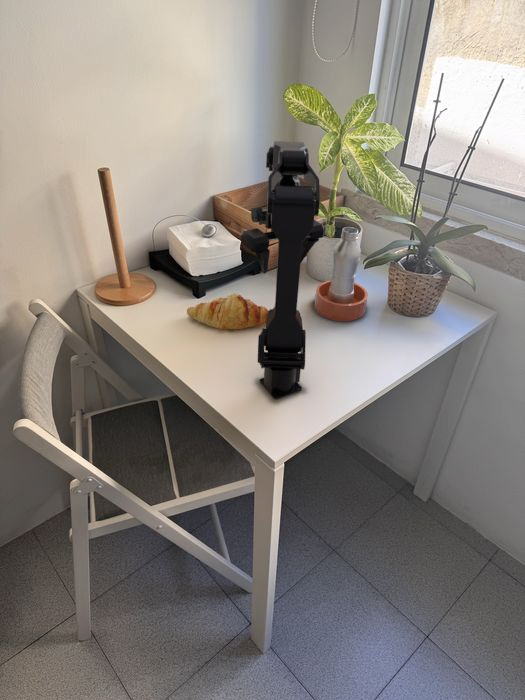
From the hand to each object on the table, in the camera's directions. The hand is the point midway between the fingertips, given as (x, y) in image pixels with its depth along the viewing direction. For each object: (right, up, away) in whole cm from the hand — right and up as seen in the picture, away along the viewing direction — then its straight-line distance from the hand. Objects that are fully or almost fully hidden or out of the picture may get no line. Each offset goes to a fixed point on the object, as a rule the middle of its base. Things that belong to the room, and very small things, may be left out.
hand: (281, 268), depth 118 cm
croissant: (-12, -12, +4) cm, 17 cm away
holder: (+15, -8, +10) cm, 20 cm away
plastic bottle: (+15, -8, +9) cm, 19 cm away
